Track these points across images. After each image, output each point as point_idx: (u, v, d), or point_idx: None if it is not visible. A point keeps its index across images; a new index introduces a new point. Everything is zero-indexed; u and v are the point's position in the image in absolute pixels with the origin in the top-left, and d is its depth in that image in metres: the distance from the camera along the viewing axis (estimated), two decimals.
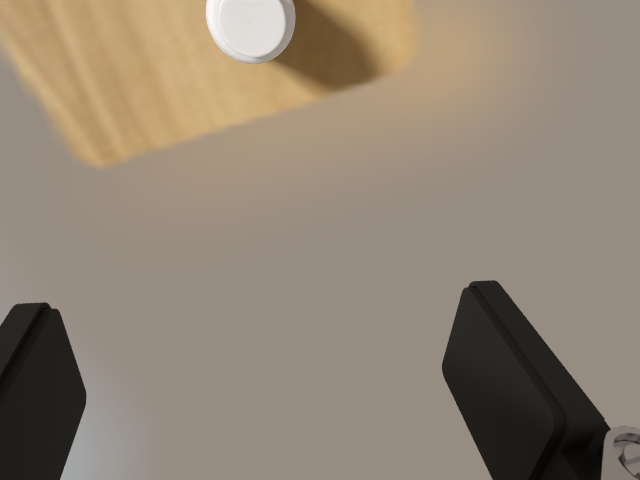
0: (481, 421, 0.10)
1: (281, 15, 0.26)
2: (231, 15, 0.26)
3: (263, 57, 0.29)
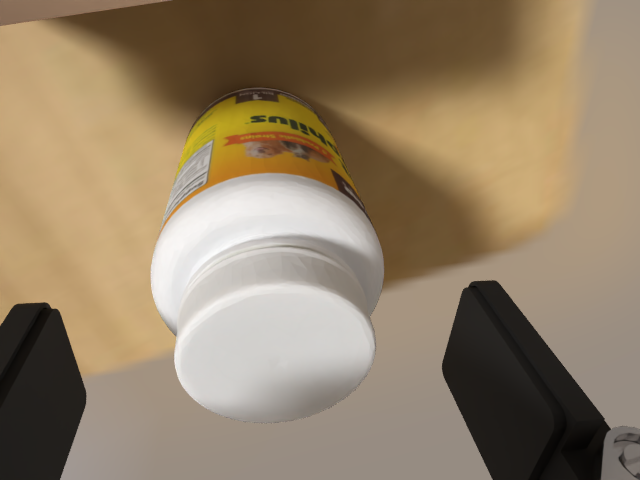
0: (481, 421, 0.10)
1: (365, 343, 0.09)
2: (217, 357, 0.08)
3: None
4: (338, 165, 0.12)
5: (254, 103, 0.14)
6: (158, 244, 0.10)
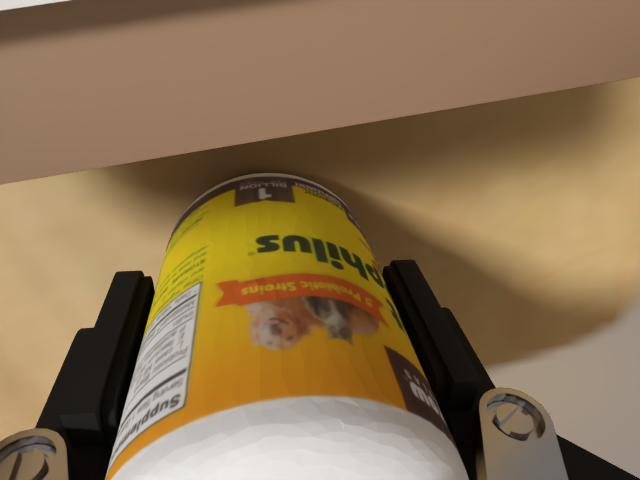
0: None
1: None
2: None
3: None
4: (389, 321, 0.08)
5: (261, 206, 0.10)
6: None
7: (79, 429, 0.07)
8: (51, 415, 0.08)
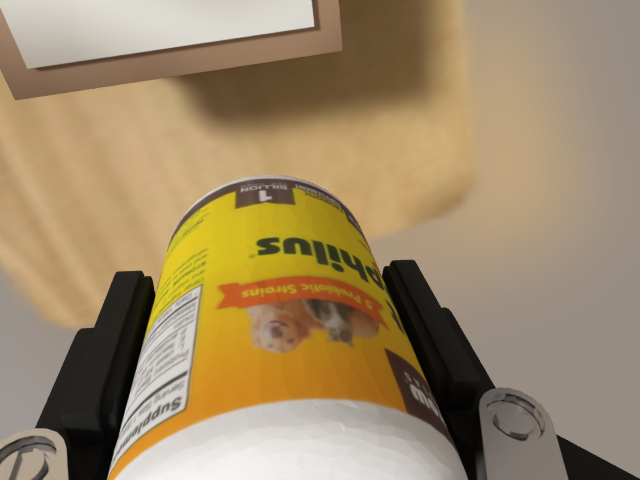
0: None
1: None
2: None
3: None
4: (389, 323, 0.08)
5: (261, 208, 0.10)
6: None
7: (79, 429, 0.07)
8: (51, 415, 0.08)
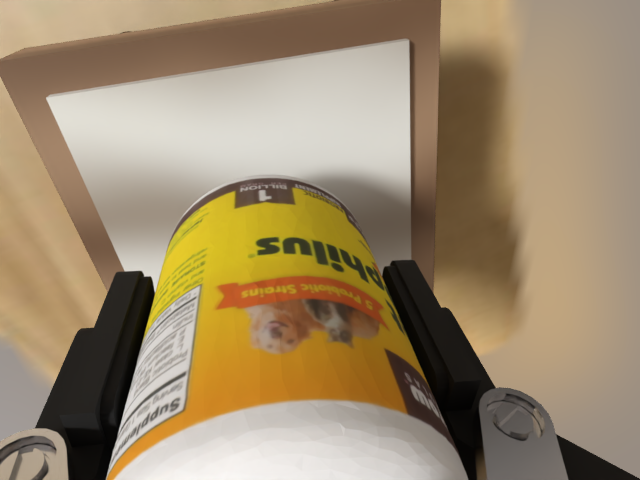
0: None
1: None
2: None
3: None
4: (390, 324, 0.08)
5: (261, 207, 0.10)
6: None
7: (79, 429, 0.07)
8: (51, 415, 0.08)
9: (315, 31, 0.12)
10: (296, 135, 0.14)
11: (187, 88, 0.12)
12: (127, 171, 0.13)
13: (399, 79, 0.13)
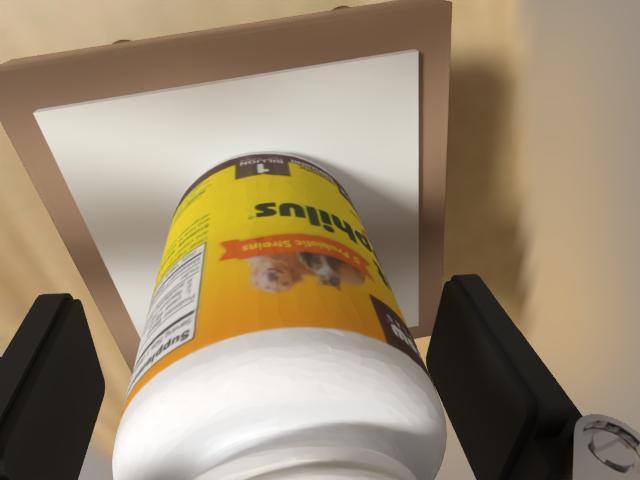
0: (461, 412, 0.10)
1: None
2: None
3: None
4: (375, 277, 0.09)
5: (259, 178, 0.11)
6: (121, 431, 0.07)
7: None
8: None
9: (319, 42, 0.12)
10: (298, 150, 0.13)
11: (183, 102, 0.12)
12: (120, 189, 0.13)
13: (407, 92, 0.12)
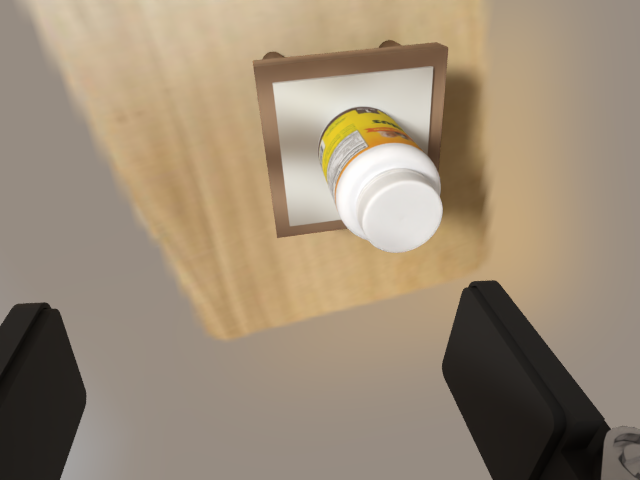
0: (481, 421, 0.10)
1: (438, 212, 0.21)
2: (381, 212, 0.21)
3: None
4: None
5: (369, 113, 0.27)
6: (347, 171, 0.22)
7: None
8: None
9: (392, 60, 0.28)
10: (377, 108, 0.29)
11: (333, 83, 0.28)
12: (298, 120, 0.29)
13: (427, 84, 0.29)
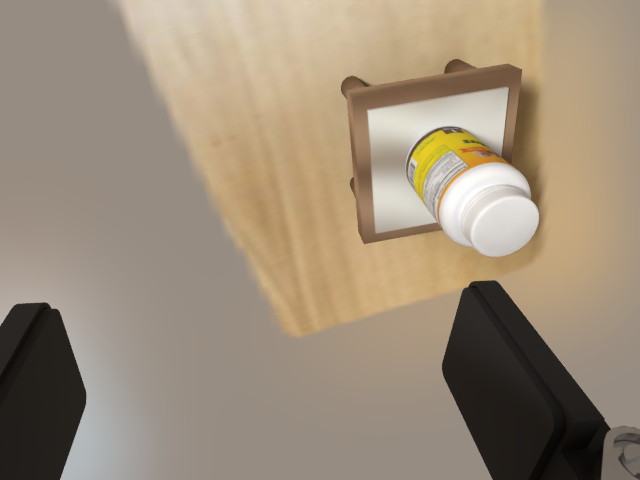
0: (481, 421, 0.10)
1: (535, 221, 0.25)
2: (487, 224, 0.25)
3: None
4: None
5: (456, 133, 0.30)
6: (451, 189, 0.26)
7: None
8: None
9: (472, 84, 0.31)
10: (458, 126, 0.32)
11: (420, 107, 0.31)
12: (388, 141, 0.32)
13: (503, 103, 0.32)
